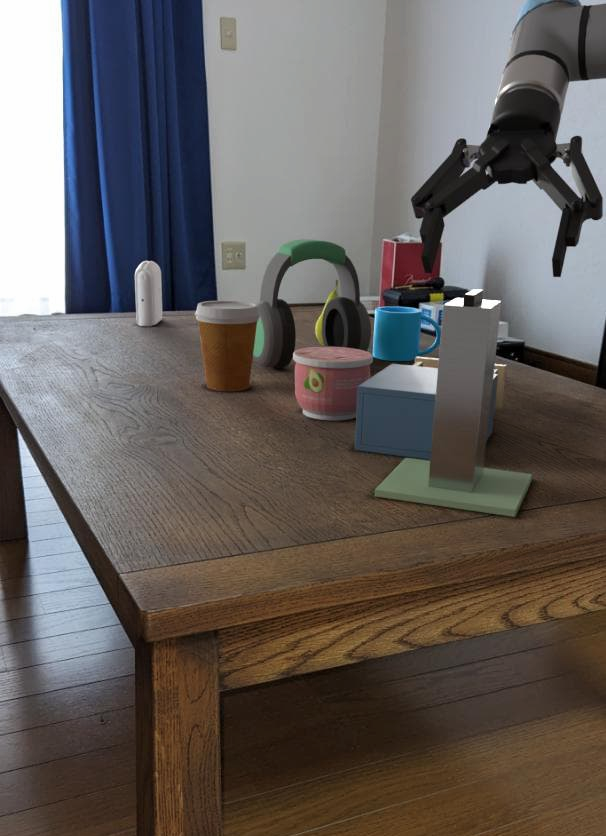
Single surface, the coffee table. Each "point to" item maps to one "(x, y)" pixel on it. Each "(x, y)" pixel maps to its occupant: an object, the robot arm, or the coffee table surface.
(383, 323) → the mug
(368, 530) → the coffee table surface
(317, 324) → the fruit
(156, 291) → the white pill-shaped pillar
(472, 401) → the silver box
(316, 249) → the headphones
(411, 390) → the cabinet
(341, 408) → the container
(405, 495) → the mat
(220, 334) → the disposable coffee cup
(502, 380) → the drawer
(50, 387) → the coffee table surface
